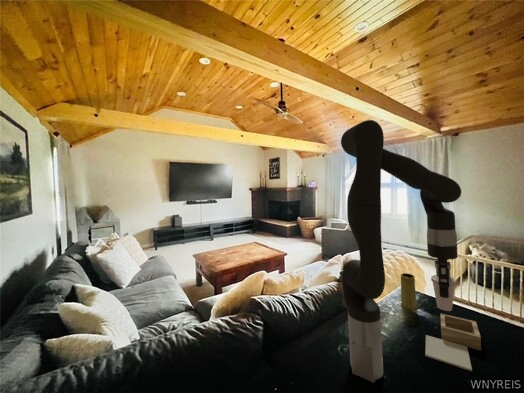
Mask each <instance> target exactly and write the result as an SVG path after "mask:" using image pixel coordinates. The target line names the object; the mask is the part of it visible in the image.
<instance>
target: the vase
mask: <svg viewBox="0 0 524 393" xmlns="http://www.w3.org/2000/svg"><path fill="white" fill-rule="evenodd" d="M415 281H416V280H415V275H414V274H412V273H406V272H404V273H401V274H400V298H401V303H400V306H401V307H403V308H404V309H406V310H410V311H411V310H412V311H413V310H416V309H418V304H417V294H416V282H415Z"/></svg>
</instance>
